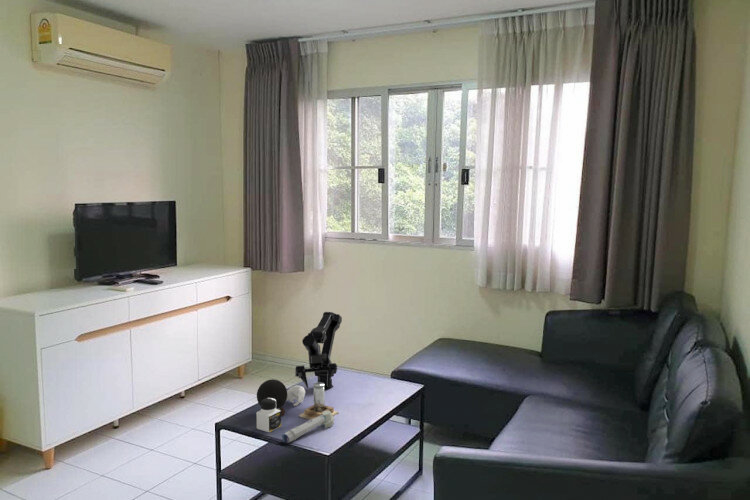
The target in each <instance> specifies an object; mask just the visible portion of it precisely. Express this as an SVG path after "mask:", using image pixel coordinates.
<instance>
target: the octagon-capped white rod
mask: <svg viewBox="0 0 750 500" xmlns="http://www.w3.org/2000/svg"><path fill="white" fill-rule="evenodd" d="M334 423H335V416H332V415H331V412H330V411H329V410H328V411H324V412H323V413H322V415H320V416H318V417H316V418H314V419H312V420H309V421H306V422H304V423H302V424H300V425H299V426H298V425H297V426H296V427H294V428H292V429H291V428H290V429H288V431H286V432H285V433H283V434H282V435H281V439H282V442H283V443H285V444H286V445H287V444H290V443H291V442H295V441H296V440H297V439H298V438H300V437H302V436H303V435H305V434H306V433H308V432H309V431H312V430H313V429H314V428H317V427H318V426H320V425H321V427H322V428H325V429H327V428H332V427H333V425H334Z"/></svg>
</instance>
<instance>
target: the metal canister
mask: <svg viewBox="0 0 750 500" xmlns="http://www.w3.org/2000/svg"><path fill="white" fill-rule="evenodd" d="M313 405H314V411H316V412H322V411H324V405H325V390H324V383H322V382H318V381H317V382H315V383H313Z"/></svg>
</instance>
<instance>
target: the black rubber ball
mask: <svg viewBox="0 0 750 500" xmlns="http://www.w3.org/2000/svg"><path fill="white" fill-rule="evenodd" d="M287 391H288V390H287V387H286V385H285V384H284V383H283V382H282V381H280V380H278V379H272V378H271V379H268V380H265V381H263V382H262V383H260V386H259V387H258V389H257V391H256V400H257V403H258V404H259V406H260V407H261V401H262V400H263V399H265V398H273V399H275V400H276V409H278V410H281V418H282V417H283V416H285V415H286V409H285V408H284V407H283V406H284V405H285V403H286V402H287V401H286V399H287Z"/></svg>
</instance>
